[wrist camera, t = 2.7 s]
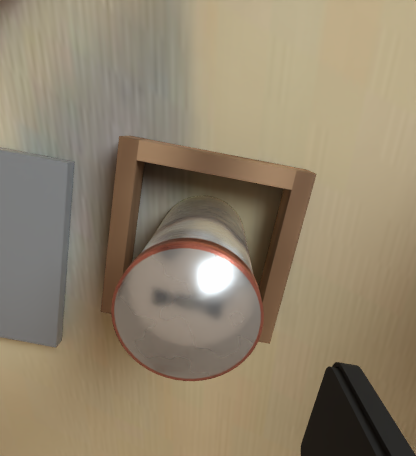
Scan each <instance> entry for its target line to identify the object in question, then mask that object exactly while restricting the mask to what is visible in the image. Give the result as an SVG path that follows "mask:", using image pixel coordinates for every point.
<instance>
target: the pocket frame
mask: <svg viewBox="0 0 416 456" xmlns="http://www.w3.org/2000/svg"><path fill="white" fill-rule="evenodd" d="M145 162H149V163H154V164H159V165H164V166H170V167H175V168H180V169H185V170H190V171H196V172H201V173H206V174H211V175H217V176H222V177H227V178H232V179H237V180H243V181H248V182H253V183H258V184H263V185H269V186H274V187H279V188H284V189H283V193H282V197H281V201H280V205H279V209H278V213H277V217H276V221H275V225H274V229H273V233H272V237H271V241H270V245H269V249H268V253H267V257H266V261H265V265H264V269H263V273H262V277H261V281H260V285H259V291H260V295H261V299H262V304H263V312H264V321H263V328H262V332H261V335H260V338H259V342H264V343H269V344H270V341H271V337H272V333H273V330H274V326H275V322H276V319H277V315H278V312H279V308H280V304H281V301H282V297H283V293H284V290H285V286H286V282H287V279H288V275H289V272H290V268H291V264H292V261H293V257H294V253H295V250H296V246H297V243H298V239H299V235H300V232H301V228H302V224H303V221H304V217H305V214H306V210H307V206H308V203H309V199H310V195H311V192H312V188H313V184H314V181H315V177H316V174H315V173H313V172H311V171H308V170H305V169H300V168H295V167H290V166H285V165H279V164H274V163H269V162H264V161H259V160H253V159H248V158H243V157H238V156H233V155H227V154H222V153H217V152H212V151H207V150H201V149H196V148H191V147H186V146H181V145H175V144H170V143H165V142H160V141H155V140H149V139H144V138H139V137H134V136H119V144H118V153H117V163H116V172H115V182H114V191H113V201H112V210H111V220H110V229H109V239H108V248H107V258H106V267H105V277H104V286H103V295H102V305H101V312H105V313H110V314H112V313H111V309H112V299H113V294H114V291H115V289H116V286H117V284H118V282H119V280H120V278H121V277H122V275H123V274H124V273H125V271H126V270H127V268H128V267H129V266H130V264H131V263H132V258H133V250H134V242H135V235H136V227H137V219H138V212H139V204H140V196H141V188H142V181H143V173H144V165H145Z"/></svg>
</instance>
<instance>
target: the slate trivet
mask: <svg viewBox="0 0 416 456" xmlns="http://www.w3.org/2000/svg"><path fill="white" fill-rule="evenodd" d="M73 173H74V161H69V160H63V159H58V158H53V157H48V156H42V155H37V154H32V153H27V152H22V151H16V150H11V149H6V148H1V147H0V337H3V338H8V339H13V340H19V341H24V342H29V343H35V344H40V345H45V346H51V347H57V346H58V344H59V343H60V342H61V340H62V330H63V316H64V301H65V287H66V273H67V259H68V244H69V230H70V216H71V202H72V187H73Z"/></svg>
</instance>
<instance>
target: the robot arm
mask: <svg viewBox="0 0 416 456" xmlns="http://www.w3.org/2000/svg"><path fill="white" fill-rule="evenodd" d="M301 456H416V455H415V453H414V452H413V450H412V449H411V447H410V446H409V444H408V442H407V441H406V439H405V438H404V436H403V434H402V433H401V431H400V430H399V428H398V427H397V425H396V423H395V422H394V420H393V419H392V417H391V415H390V414H389V412H388V411H387V409H386V407H385V406H384V404H383V403H382V401H381V400H380V398H379V396H378V395H377V393H376V392H375V390H374V388H373V387H372V385H371V384H370V382H369V381H368V379H367V377H366V376H365V374H364V373H363V371H362V369H361V368H360V367H359V366H357V365H351V364H345V363H339V362H336V363H335V364H334V365H333V366H332V367H328V368H327V369H326V371H325V374H324V377H323V380H322V383H321V386H320V389H319V392H318V395H317V398H316V401H315V404H314V407H313V410H312V413H311V416H310V419H309V422H308V425H307V428H306V431H305V434H304V437H303V440H302V444H301Z"/></svg>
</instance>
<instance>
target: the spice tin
mask: <svg viewBox="0 0 416 456" xmlns="http://www.w3.org/2000/svg"><path fill="white" fill-rule="evenodd" d="M111 313H112V322H113V326H114V330H115V332H116V335H117V337H118V339H119V341H120V342H121V344H122V346H123V347H124V349H125V350H126V351H127V353H128V354H129V355H130V356H131V357H132V358H133V359H134V360H135V361H137V362H138V363H139V364H140V365H142V366H143V367H145V368H146V369H148V370H150V371H152V372H154V373H156V374H158V375H161V376H164V377H167V378H171V379H175V380H182V381H199V380H206V379H211V378H215V377H218V376H221V375H223V374H225V373H227V372H229V371H231V370H233V369H234V368H236V367H237V366H238V365H240V364H241V363H242V362H243V361H244V360H245V359H246V358H247V357H248V356H249V355H250V354H251V352H252V351H253V350H254V348H255V346H256V345H257V343H258V341H259V338H260V335H261V332H262V328H263V321H264V312H263V304H262V299H261V295H260V291H259V287H258V284H257V282H256V279H255V277H254V275H253V270H252V265H251V260H250V256H249V251H248V246H247V241H246V236H245V231H244V227H243V223H242V221H241V219H240V217H239V215H238V214H237V212H236V211H235V210H234V209H233V208H232V207H231V206H230V205H228V204H227V203H226V202H224V201H222V200H220V199H218V198H215V197H211V196H193V197H190V198H187V199H184V200H182V201H181V202H179V203H177V204H176V205H175V206H174V207H173V208H172V209H171V210H170V211H169V212H168V214H167V215H166V217H165V218H164V220H163V221H162V223H161V224H160V226H159V227H158V229H157V230H156V232H155V233H154V235H153V236H152V238H151V239H150V241H149V242H148V244H147V245H146V247H145V248H144V249H143V251H142V252H141V254H140V255H138V256H137V257H136V258H135V259H134V260H133V261H132V263H131V264H130V266H129V267H128V268H127V270H126V271H125V273H124V274H123V275H122V277H121V278H120V280H119V282H118V284H117V286H116V289H115V291H114V294H113V299H112V309H111Z"/></svg>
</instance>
